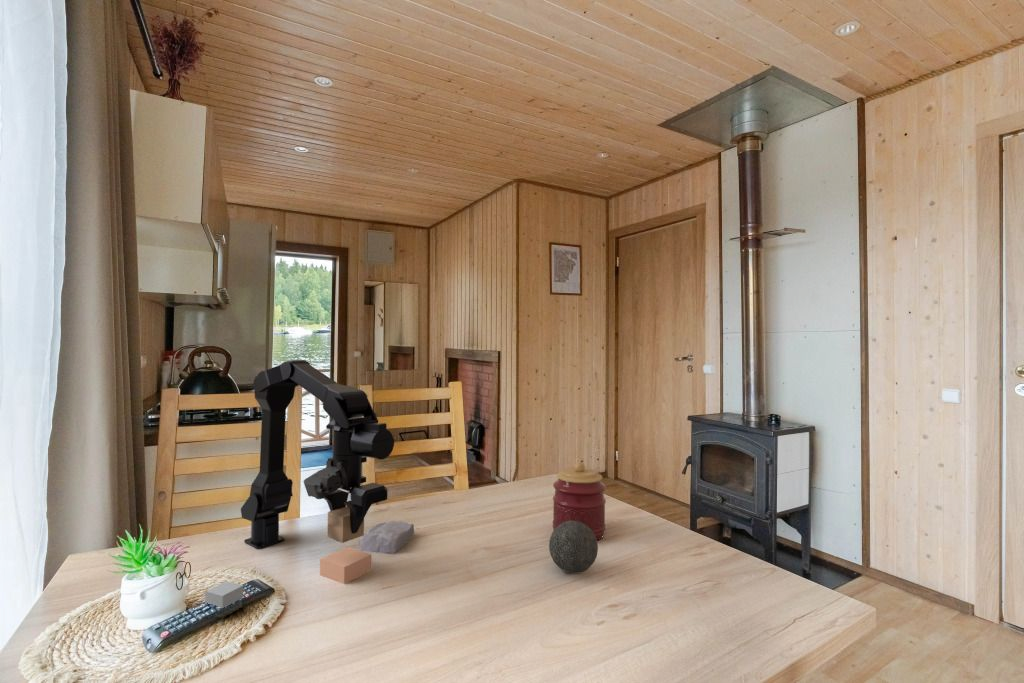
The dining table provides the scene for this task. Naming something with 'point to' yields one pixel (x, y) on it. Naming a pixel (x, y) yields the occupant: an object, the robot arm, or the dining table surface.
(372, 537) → the stone block
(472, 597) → the dining table surface
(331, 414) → the robot arm
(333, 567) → the terracotta block
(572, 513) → the canister
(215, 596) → the grey block
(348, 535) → the walnut cube
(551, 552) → the decorative ball
